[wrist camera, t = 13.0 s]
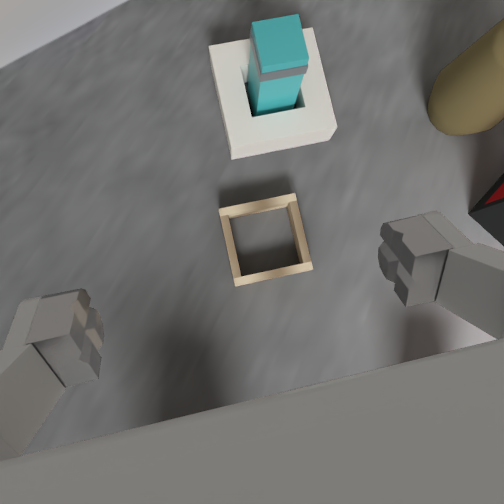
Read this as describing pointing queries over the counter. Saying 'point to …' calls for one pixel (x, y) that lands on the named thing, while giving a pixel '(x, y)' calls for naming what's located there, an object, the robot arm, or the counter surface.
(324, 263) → the counter surface
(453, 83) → the squeeze bottle
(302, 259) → the beige flat square frame
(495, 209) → the cleaning product box
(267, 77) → the plug
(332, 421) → the robot arm
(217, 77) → the port
